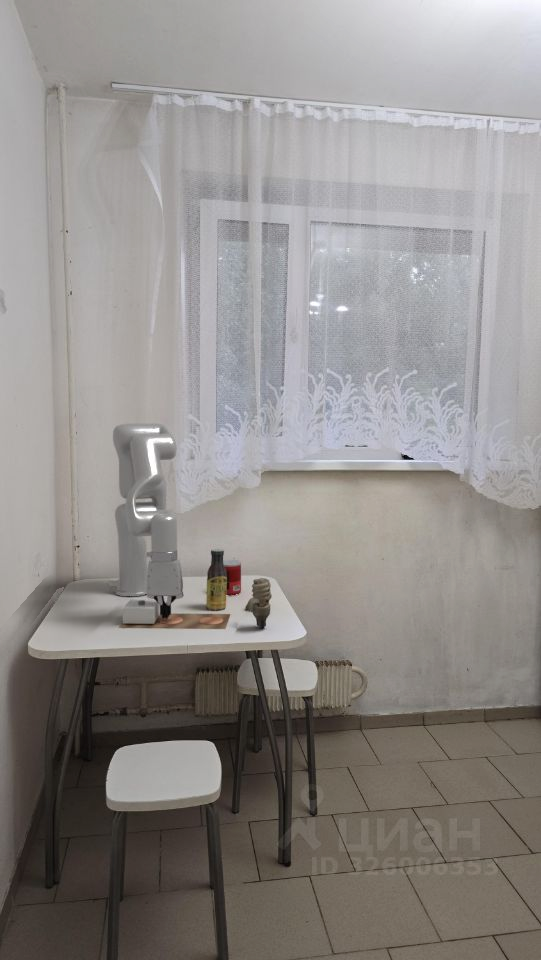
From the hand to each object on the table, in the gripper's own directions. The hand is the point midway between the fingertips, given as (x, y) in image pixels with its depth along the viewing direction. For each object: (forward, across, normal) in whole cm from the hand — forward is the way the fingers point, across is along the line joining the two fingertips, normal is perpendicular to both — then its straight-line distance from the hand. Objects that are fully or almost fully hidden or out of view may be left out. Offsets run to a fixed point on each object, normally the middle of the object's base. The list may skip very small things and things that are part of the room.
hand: (165, 617), depth 193 cm
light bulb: (+3, +29, -3) cm, 29 cm away
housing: (+1, -7, 0) cm, 7 cm away
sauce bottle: (+3, +14, +13) cm, 19 cm away
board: (+2, +3, 0) cm, 4 cm away
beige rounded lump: (+3, +27, +15) cm, 31 cm away
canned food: (+3, +16, +35) cm, 38 cm away
